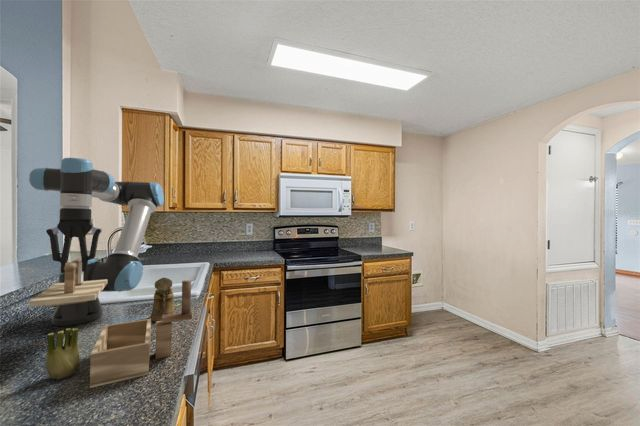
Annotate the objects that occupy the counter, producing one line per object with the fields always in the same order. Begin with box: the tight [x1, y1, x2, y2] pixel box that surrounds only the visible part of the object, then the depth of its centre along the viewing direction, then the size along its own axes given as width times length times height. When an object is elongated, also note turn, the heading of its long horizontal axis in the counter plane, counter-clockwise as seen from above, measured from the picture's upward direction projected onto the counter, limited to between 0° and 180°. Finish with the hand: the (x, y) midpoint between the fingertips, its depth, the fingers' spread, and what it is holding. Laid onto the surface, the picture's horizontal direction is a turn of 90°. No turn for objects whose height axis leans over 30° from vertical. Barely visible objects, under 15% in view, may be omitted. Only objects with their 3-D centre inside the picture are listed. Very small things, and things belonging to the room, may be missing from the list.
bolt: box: [162, 279, 193, 324], centre depth 85 cm, size 3×8×12 cm, turn 120°
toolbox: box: [89, 318, 173, 389], centre depth 80 cm, size 20×18×10 cm
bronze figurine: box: [149, 277, 176, 322], centre depth 110 cm, size 9×14×18 cm, turn 28°
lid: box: [28, 257, 107, 308], centre depth 87 cm, size 22×14×11 cm, turn 30°
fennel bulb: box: [45, 327, 81, 380], centre depth 71 cm, size 6×5×12 cm
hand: (74, 282), depth 87 cm, fingers closed on lid, 2 cm apart
